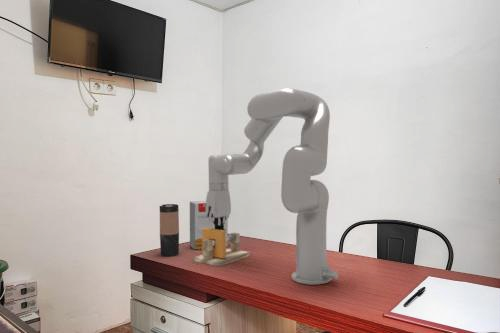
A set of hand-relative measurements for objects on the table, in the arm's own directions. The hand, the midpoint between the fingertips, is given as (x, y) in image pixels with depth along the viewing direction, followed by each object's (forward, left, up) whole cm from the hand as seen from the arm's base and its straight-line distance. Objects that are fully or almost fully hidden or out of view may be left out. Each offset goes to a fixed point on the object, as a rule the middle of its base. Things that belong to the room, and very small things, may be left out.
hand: (219, 235), depth 149 cm
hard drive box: (+18, -14, -10) cm, 25 cm away
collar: (0, +3, -7) cm, 8 cm away
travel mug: (+22, +5, -10) cm, 25 cm away
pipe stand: (0, -2, -9) cm, 10 cm away
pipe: (0, -2, -4) cm, 4 cm away
